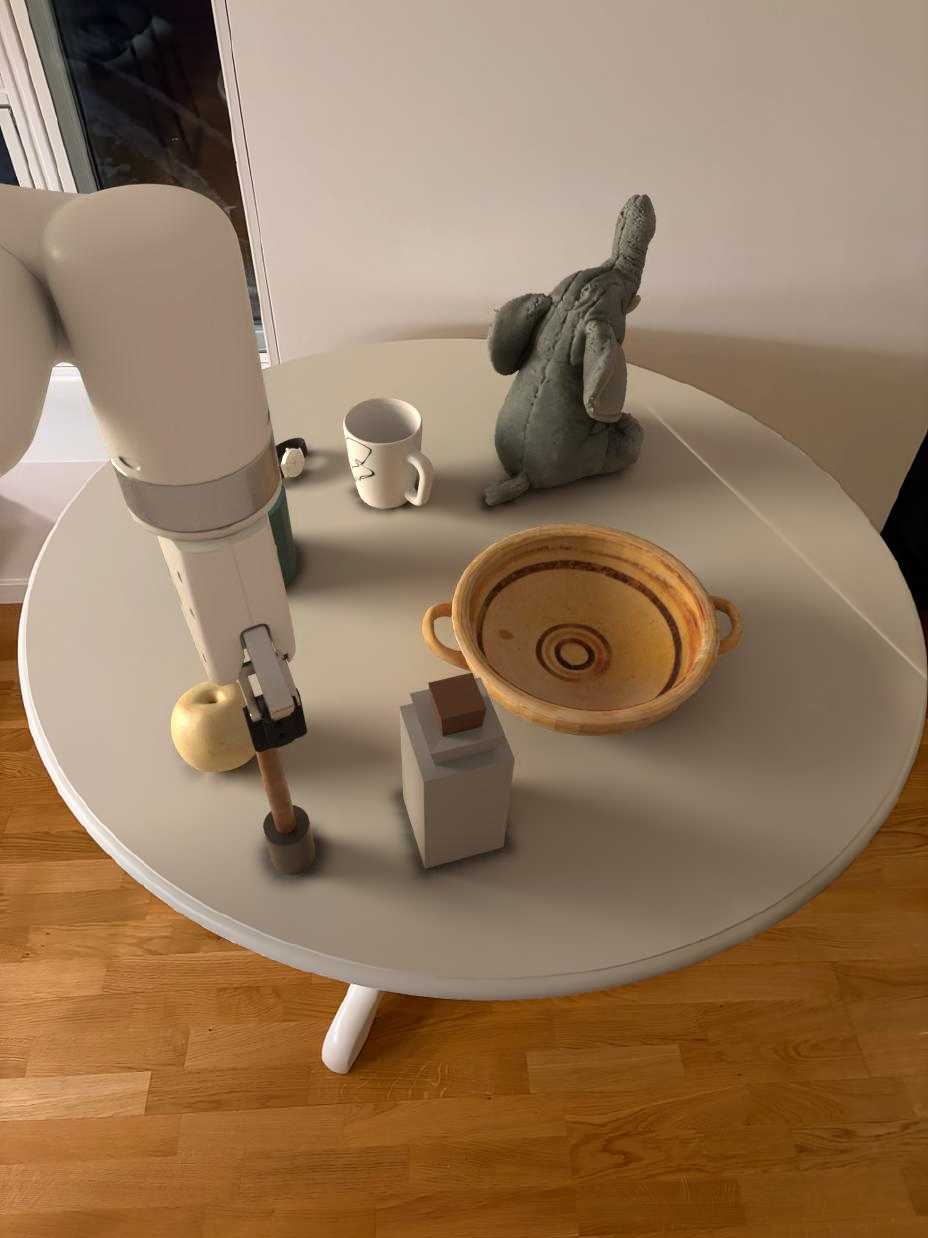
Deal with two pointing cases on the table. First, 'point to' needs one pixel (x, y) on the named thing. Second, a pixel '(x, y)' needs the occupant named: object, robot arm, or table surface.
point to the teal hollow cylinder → (283, 536)
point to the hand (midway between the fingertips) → (255, 681)
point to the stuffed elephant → (570, 369)
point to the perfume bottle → (455, 770)
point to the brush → (284, 819)
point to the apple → (212, 727)
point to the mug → (387, 452)
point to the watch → (292, 456)
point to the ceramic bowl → (584, 628)
